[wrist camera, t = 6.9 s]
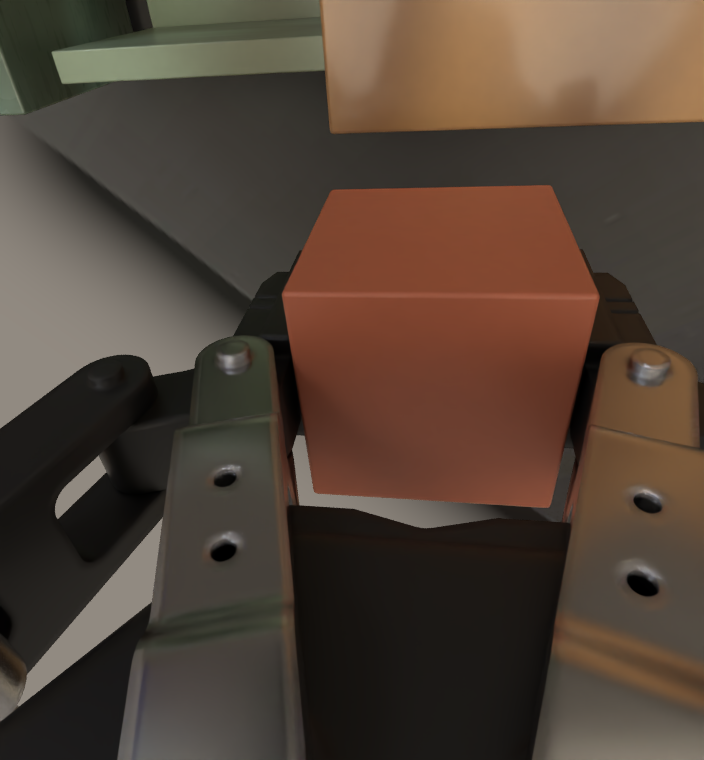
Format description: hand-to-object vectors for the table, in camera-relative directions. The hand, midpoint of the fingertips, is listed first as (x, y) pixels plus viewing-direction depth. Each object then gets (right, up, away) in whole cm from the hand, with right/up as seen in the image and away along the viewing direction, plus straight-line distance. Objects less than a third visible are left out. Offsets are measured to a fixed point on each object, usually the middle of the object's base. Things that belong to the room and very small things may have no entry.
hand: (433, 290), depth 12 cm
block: (0, 0, 0) cm, 0 cm away
